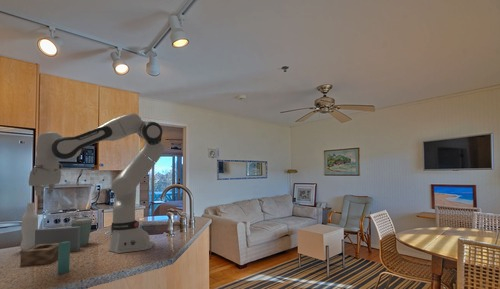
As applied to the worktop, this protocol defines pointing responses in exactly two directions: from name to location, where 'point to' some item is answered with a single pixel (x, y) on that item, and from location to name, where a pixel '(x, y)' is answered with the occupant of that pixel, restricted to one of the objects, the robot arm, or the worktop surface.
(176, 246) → the worktop surface
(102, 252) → the worktop surface
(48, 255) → the socket block
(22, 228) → the water bottle
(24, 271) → the worktop surface
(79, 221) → the disposable coffee cup
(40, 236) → the wall
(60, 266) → the dowel
